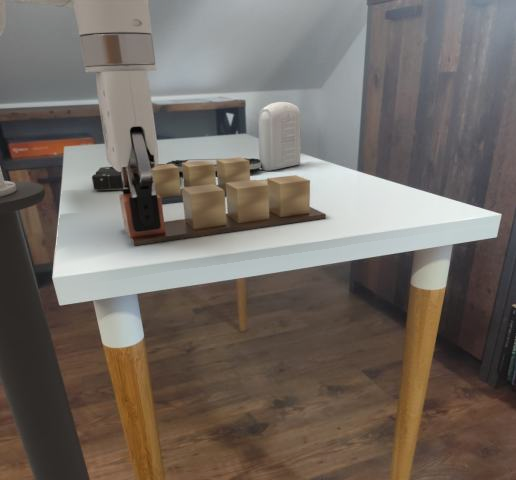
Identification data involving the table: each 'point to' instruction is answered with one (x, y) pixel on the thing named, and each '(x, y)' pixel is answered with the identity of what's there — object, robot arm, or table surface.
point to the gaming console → (254, 164)
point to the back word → (198, 176)
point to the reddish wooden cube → (129, 222)
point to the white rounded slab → (279, 136)
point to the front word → (239, 208)
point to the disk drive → (108, 179)
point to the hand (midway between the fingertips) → (143, 223)
